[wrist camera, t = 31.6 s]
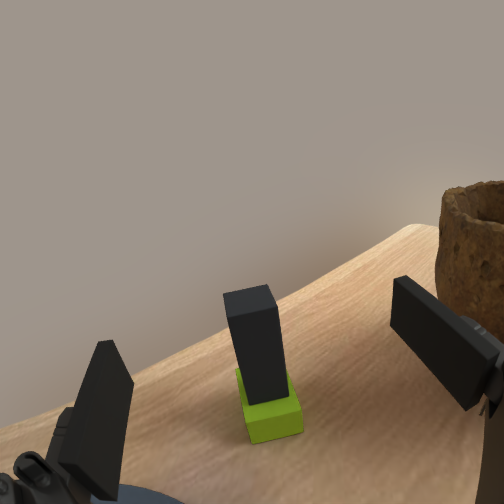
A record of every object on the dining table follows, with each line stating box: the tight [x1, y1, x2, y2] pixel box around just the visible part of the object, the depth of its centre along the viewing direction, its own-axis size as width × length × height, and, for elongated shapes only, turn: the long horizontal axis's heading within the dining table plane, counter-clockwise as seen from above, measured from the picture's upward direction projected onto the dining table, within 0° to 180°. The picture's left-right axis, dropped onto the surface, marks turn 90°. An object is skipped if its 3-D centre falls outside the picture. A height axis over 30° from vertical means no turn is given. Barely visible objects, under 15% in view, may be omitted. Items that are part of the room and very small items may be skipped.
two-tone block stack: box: [223, 284, 304, 444], centre depth 21 cm, size 6×4×11 cm, turn 9°
